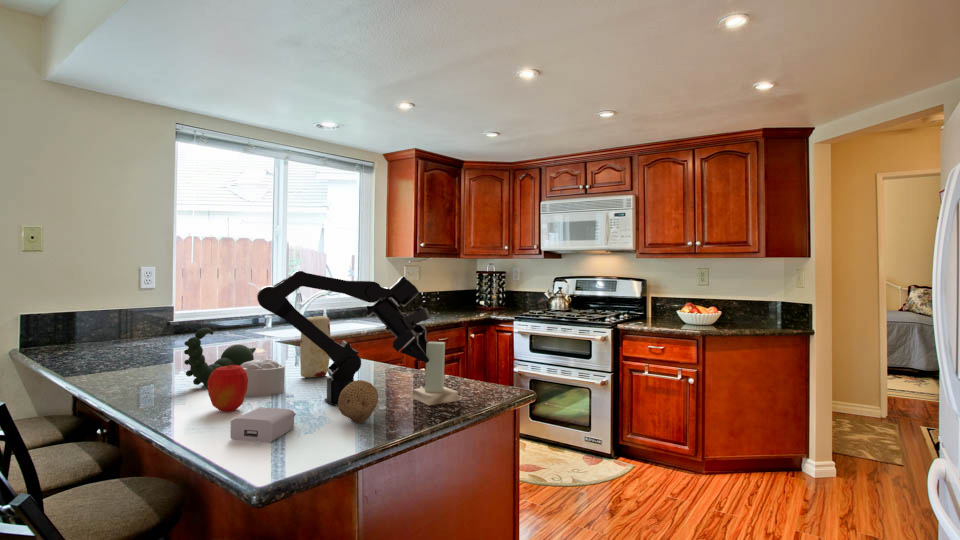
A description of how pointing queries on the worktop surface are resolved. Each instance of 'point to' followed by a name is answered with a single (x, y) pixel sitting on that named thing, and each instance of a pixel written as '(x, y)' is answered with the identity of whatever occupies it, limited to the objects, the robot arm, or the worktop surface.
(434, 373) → the green pillar
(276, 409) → the charger
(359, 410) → the natural sponge
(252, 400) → the worktop surface
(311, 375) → the food model
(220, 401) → the apple
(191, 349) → the toy figurine
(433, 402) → the birch block
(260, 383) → the lumpy-topped squat cylinder
